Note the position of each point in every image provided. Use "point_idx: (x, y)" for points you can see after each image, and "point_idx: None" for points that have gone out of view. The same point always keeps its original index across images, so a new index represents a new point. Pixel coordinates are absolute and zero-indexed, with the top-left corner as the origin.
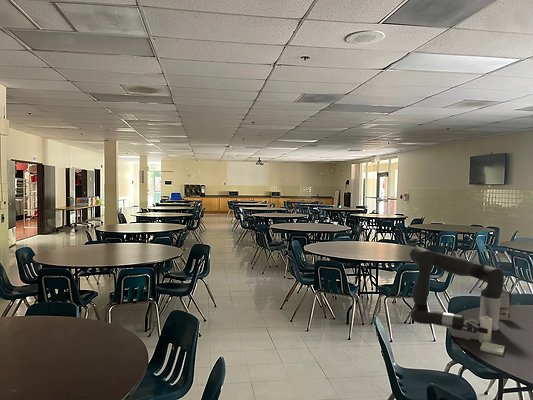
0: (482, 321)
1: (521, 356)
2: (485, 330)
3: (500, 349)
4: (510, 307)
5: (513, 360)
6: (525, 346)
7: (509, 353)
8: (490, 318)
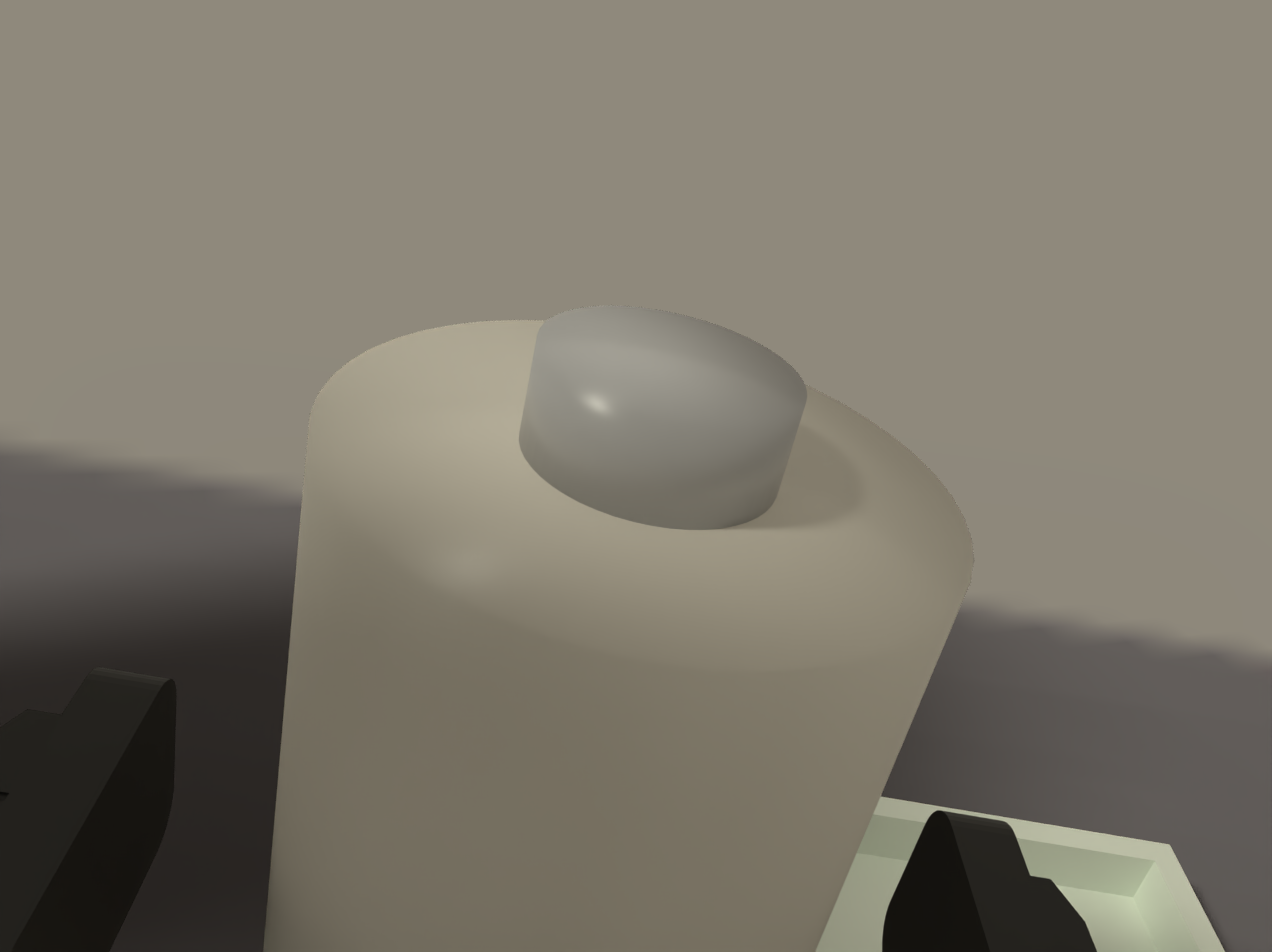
0: (895, 757)
1: None
2: (1056, 914)
3: (852, 888)
4: None
5: (1166, 767)
6: (227, 509)
7: None
8: (518, 345)
